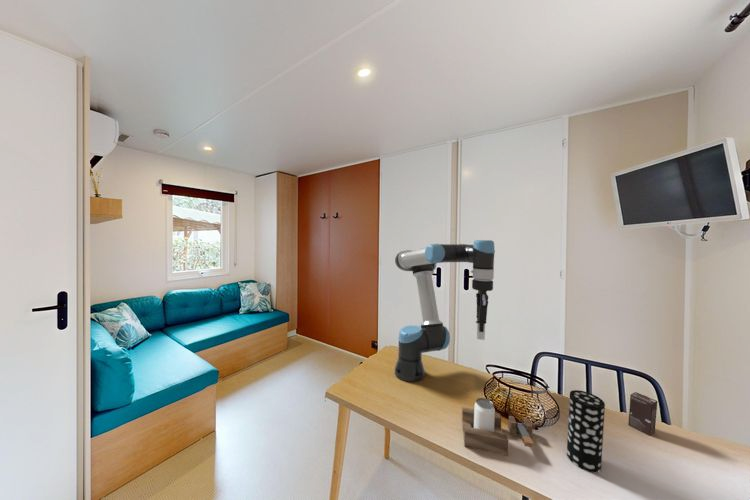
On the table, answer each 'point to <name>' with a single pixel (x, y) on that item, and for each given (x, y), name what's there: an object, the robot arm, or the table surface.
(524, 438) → the keeper
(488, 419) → the can
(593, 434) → the white-spotted black cylinder
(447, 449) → the table surface
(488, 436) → the hitch block
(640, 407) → the box
